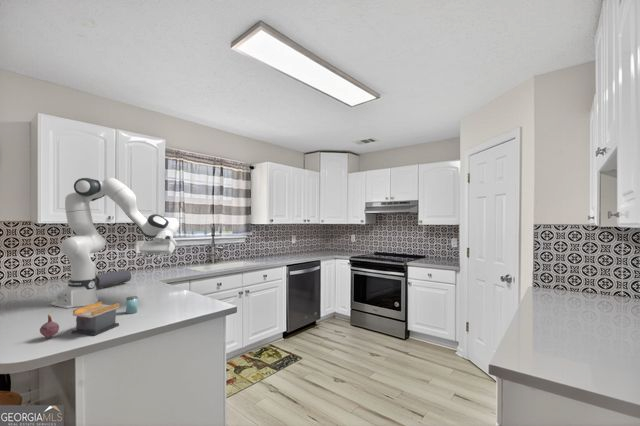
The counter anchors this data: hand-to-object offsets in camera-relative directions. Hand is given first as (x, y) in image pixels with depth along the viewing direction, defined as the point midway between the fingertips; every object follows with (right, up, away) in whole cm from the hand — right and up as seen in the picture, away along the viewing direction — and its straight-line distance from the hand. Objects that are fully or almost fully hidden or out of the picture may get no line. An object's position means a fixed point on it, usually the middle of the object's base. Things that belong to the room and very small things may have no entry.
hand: (150, 259), depth 169 cm
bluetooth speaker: (-50, -26, +40) cm, 69 cm away
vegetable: (-16, -26, -46) cm, 55 cm away
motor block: (-5, -26, -35) cm, 44 cm away
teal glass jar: (-3, -26, -12) cm, 29 cm away
